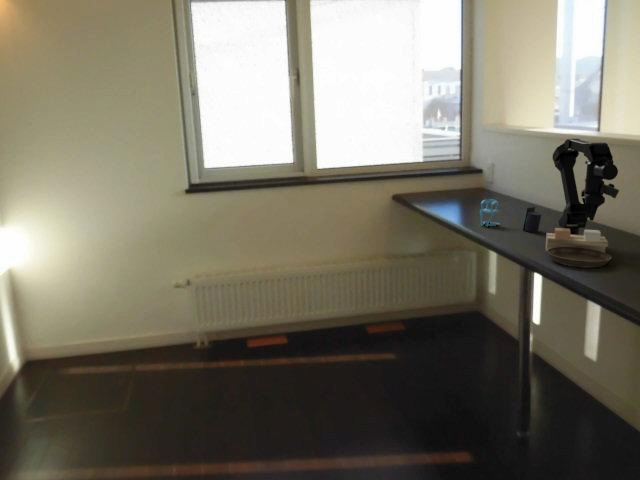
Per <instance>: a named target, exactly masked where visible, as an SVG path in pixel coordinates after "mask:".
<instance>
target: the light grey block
mask: <svg viewBox="0 0 640 480" xmlns="http://www.w3.org/2000/svg"><path fill="white" fill-rule="evenodd" d="M583 235H584V236H583V238H584V240H589V241H600V236H602V233H601V231H600V229H585V228H583Z"/></svg>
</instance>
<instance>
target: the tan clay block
mask: <svg viewBox="0 0 640 480" xmlns="http://www.w3.org/2000/svg"><path fill="white" fill-rule="evenodd" d="M570 232H571V231H570V229H567V228H562V227H554V236H555V239H570Z"/></svg>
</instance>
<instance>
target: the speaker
mask: <svg viewBox="0 0 640 480" xmlns="http://www.w3.org/2000/svg"><path fill="white" fill-rule="evenodd" d="M541 219H542V213H541V212H538V211H536V206H532V207H527V208H526V214H525V218H524V223H523V228H522V231H523V232H524V231H526V232H529V233H538V232H539V228H540V223H541Z"/></svg>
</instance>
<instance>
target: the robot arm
mask: <svg viewBox="0 0 640 480" xmlns="http://www.w3.org/2000/svg"><path fill="white" fill-rule="evenodd" d="M580 153H583V156H584V157H585V158H587V160H586V161H585V162H584V164H586V173H585V174H586V175H585V179H584V182H585V183H584V184H585V185H584V189H582V190H581V192H580V196H581V201H582V202H583V203H581V202H580V198H579V193H578V188H577V183H576V176H575V173H574V167H575V165H576V163H577V158H578V157H579V155H580ZM551 157H552V161H553V164H554V167H555V168H556V169H557V171H559V173H560V178H561V182H562V183H561V184H562V189H563V193H564V201H565V207H564V209H563V211H562V216H561V217H560V218H559V220H558V227H559V228H567V229H570V231H571V232H570V234H573V235H580V229H581V228H582V229H585V228H586V226H587V222H588V218H589V221H594V219H595V217H596V214H597V211H598V208H599V207H600V206H602V205H603V204H605V202H606V197H605V196H604V195H606V196H609V197H611V198H613V199H616V198H617V196H618V194H619V192H620V189H618V188H616V187H615V184H614V183H608V184H605V181H604V180H607V181H611V180H614V179H616V178H617V176H618V174H619V170H618V167H617V166H616V164H614V159H613V157H614V156H613V155H612V152H611V149H610V146H609V144H608V143H607V142H589V141H586V140H581V139H580V138H568V139H565V141H564V142H563V143H561V145H559V146H557V147H556V148H555V149H554V151H553V152H552V156H551Z"/></svg>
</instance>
